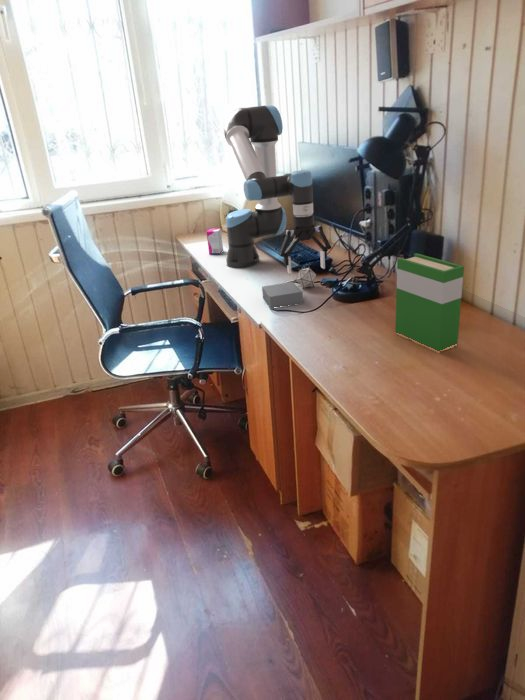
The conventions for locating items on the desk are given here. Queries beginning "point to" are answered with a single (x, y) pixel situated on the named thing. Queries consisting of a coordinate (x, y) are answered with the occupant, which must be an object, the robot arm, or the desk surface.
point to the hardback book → (429, 300)
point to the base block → (282, 294)
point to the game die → (306, 277)
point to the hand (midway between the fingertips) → (306, 270)
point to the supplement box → (214, 241)
